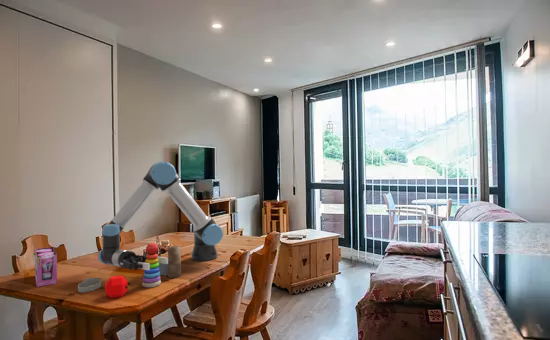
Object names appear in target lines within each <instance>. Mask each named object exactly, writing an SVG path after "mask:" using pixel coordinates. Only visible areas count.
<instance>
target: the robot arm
mask: <svg viewBox="0 0 550 340" xmlns="http://www.w3.org/2000/svg"><path fill="white" fill-rule="evenodd" d="M158 189H160V190H161V192H164V193H165V192H166V193H167V194H168V195H169V197H170V198H171V200H173V202H174V203H175V204H176V206H177V208H179V209H180V210H181V212H182V213H183V214H184V215H185V217H186V218H187V219H188V221H189V222H190V223H191V224H192V225H193V243H194V244H193V249H192V252H191V256H190V257H191V258H190V259H191V261H197V262H201V261H204V262H205V261H211V260H215V259H217V258H218V251H217V248H216V245H218V244H219V243H220V242H221V241H222V239H223V236H224V232H223V231H224V230H223V228H222V227H221V226H220V224H219V225H218V224H217V222H215V220H214V219H213V218H212V216H209V215H208V216H207V214H206V213H205V212H204V210H203V209H202V208H201V207H200V206H199V204H198V203H197V202H196V200H195V199H194V198H193V197H192V195H191V194H190V193H189V191H188V190H187V189H186V188H185V186H184V185H183V183H181V177H180V175H179V174H178V173H177V170H176V168H175V166H174V165H173V164H171V163H170V162H167V161H158V162H156V163H154V164H153V165H151V166H150V168H149V169H148V171H147V173H146V174H145V176H144V177H143V178H142V182H141V184H140V185H139V186H138V187H137V188H136V189H135V191H134V192H133V193H132V195H131V196H130V197H129V198H128V200H126V202H125V203H124V205H122V207H121V208H120V209H119V210H118V212H117V213H116V214H115V216H114V217H112V219H111V220H110V222H109V223H108V224H105V225H103V226H102V233H101V234H102V249H101V250H100V251H99V253H98V256H97V259H98V261H99V263H101V264H104V265H107V266H108V265H109V266H117V267H119V268H125V269H127V270H130V271H132V270H134V271H138V269H139V270H150V264H149V263H146V262H145V261H146V259H147V258H146V255H147V254H148V253H146V254H145V253H144V254H142V255H140V254H136V253H135V252H134V251H131V250H124V249H120V247H121V245H120V242H121V241H120V238H121V237H120V236H121V235H120V234H121V232H123V230H124V229H125V227H126V226H128V225H129V222H130V221H132V219H133V218H134V216H135V215H136V214H137V212H139V210H140V209H141V208H142V206H143V205H144V204H145V203H146V202H147V201H148V199H149V198H150V196H151V195H152V194H154V192H155V191H157V190H158ZM157 254H158V257H157V259H158V263H162V264H168V257H164V256H162V255H161V254H159V253H157Z"/></svg>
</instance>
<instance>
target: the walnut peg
mask: <svg viewBox="0 0 550 340" xmlns="http://www.w3.org/2000/svg"><path fill="white" fill-rule="evenodd" d="M181 249H182V247H181V246H179V245H174V246H168V247H167V258H168V275H167V277H168V278H170V279H177V278H180V277H182V252H181V251H182V250H181Z"/></svg>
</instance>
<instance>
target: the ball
mask: <svg viewBox="0 0 550 340" xmlns="http://www.w3.org/2000/svg"><path fill="white" fill-rule="evenodd" d="M128 283H129V282H128V280H127V278H125V277H124V276H123V275H122V274H121V275H120V274H119V275H116V276H115V275H114V276H110V278H109V279H107V280H106V282H105V284H104V285H105V286H104V287H105V288H104V289H105V291H104V292H105V295H106V296H108V297H109V298H110V299H116V298H122V297H123V296H124V295H125V294H126V293H127V292H128V291H129V290H128V288H129V287H128V285H129V284H128Z"/></svg>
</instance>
